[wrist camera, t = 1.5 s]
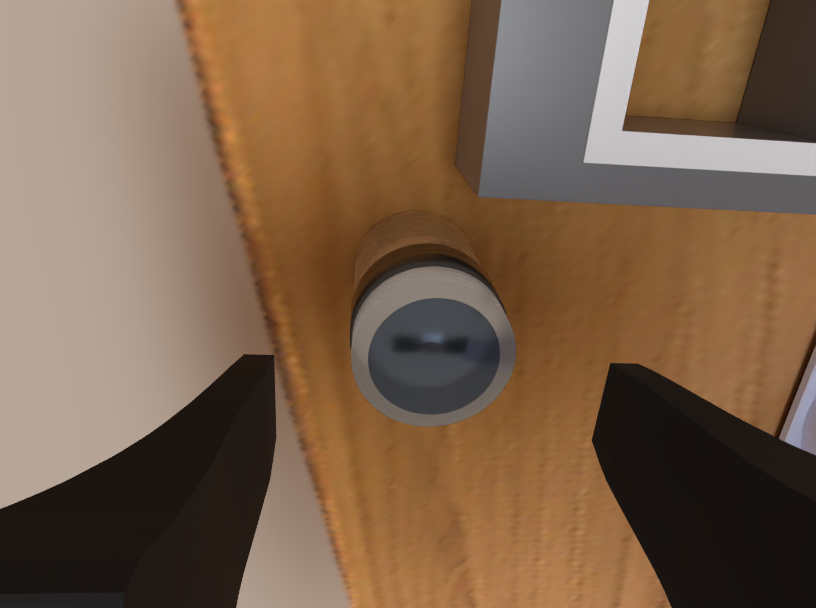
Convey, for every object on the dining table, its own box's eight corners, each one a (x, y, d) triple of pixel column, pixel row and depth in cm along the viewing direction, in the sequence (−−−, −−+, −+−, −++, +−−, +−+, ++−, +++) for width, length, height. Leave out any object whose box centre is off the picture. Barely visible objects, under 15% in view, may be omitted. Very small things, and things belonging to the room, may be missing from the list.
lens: (468, 325, 21) (505, 430, 15) (351, 321, 20) (346, 428, 15) (482, 211, 19) (530, 283, 14) (355, 205, 19) (351, 277, 13)
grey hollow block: (815, 185, 19) (920, 220, 16) (455, 165, 18) (478, 197, 15) (932, -149, 16) (1104, -204, 12) (491, -199, 15) (535, -278, 11)
